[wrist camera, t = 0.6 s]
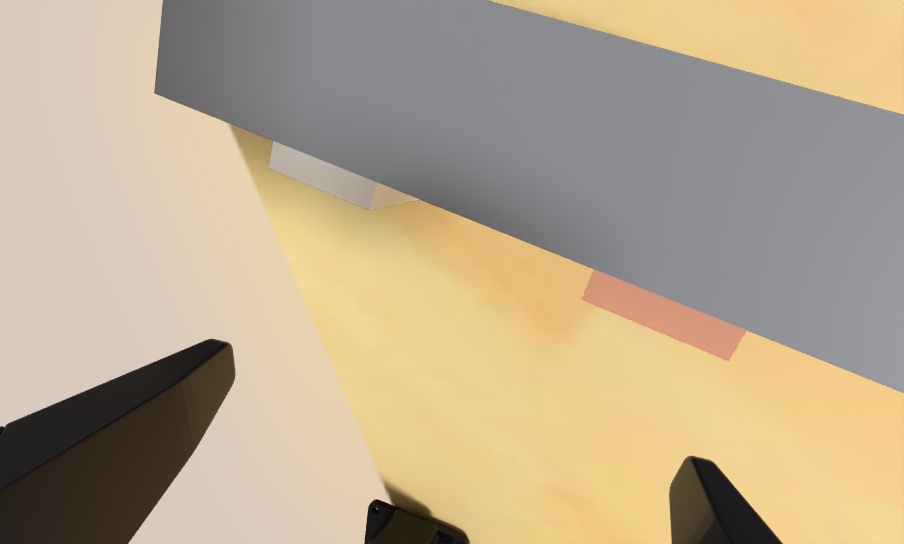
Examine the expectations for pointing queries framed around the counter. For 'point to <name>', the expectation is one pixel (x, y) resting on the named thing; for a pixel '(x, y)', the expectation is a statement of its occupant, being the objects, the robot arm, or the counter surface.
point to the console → (583, 152)
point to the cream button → (334, 179)
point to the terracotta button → (663, 315)
